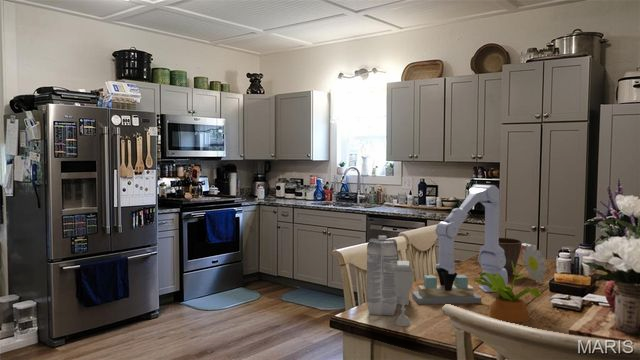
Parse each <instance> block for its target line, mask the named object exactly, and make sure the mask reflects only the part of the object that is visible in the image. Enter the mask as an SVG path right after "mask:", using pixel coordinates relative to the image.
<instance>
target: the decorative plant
mask: <svg viewBox="0 0 640 360" xmlns="http://www.w3.org/2000/svg"><path fill="white" fill-rule="evenodd" d="M530 245H531V246H530V249H529V247H528V245H526V251H525V250H524V249H523V250H522V251H523V254H524V258H523V260H524V261H525V264H526V267H525V266H522V267H521V268H520V269H519V270H518V271H517V272H516V267H514V264H513V262H512V261H511V264H512V268H513V271H514V272H513V274H514V277H513V280H512V283H511V285H509V286H508V287H506V284H505V281H504V279H503V278H502V277H501V276H500V275H499V274H498V273H497V274H493V275H492V274H490V273H486V272H483V271H482V272H480V273H481V274H480V275H479V277H478V278H477V277H475V278H474V280H473V282H475V283H478V285H479V284H480V285H481V286H482V285H487V286H488V287H489V288H491V292H492V293H496V294H497V296H496V298H495V300H494V301H493V303H492V304H491V305H490V308H489V309H490V310H489V312H488V315H489V317H490V318H493V319H494V318H496V319H495V320H497V319H500V320H499V321H501V320H504V321H503V322H506V321H508V323H524V322H527V321H530V318H531V317H530V311H529V308H528V307H527V305H526V304H525V303H524V299H523V298H521V297H522V296H524V295H527V294H528V293H530V294H531V295H533V296H534V297H535V298H536V299H538V298H539V297H541V296H543V293H542V292H539V291H538V288H536V287H534V288H525V289H523V290H522V291H520V292H519V293H517V294H514V292H513V289H514V283H515V280H520V279H523V278H524V277H526V274H521V275H519V276H517V275H518V274H520V272H521V271H522V270H524V268H525V270H526V271H528V274H529V278H532V279H534V280H535V282H536V283H538V282H539V283H540V284H543V281H542V280H544V279H545V278H546V275H545V274H546V272H547V271H548V269H547V267H545V266H546V264H545V262H546V257H544V256H543V254H542V251H541V250H538V249H537V248H536V250H535V252H534V246H535V245H534V244H533V243H531V244H530ZM484 275H486V276H487V277H488V279H489V281H490V282H491V283H490V282H489V281H487V280H486V279H485V278H484V277H483V276H484ZM494 276H496V277H494ZM496 278H497V279H496ZM482 280H484V282H483V281H482ZM485 281H486V282H487V283H486V282H485ZM489 284H490V285H489ZM491 292H490V293H491Z"/></svg>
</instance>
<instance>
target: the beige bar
mask: <svg viewBox="0 0 640 360" xmlns="http://www.w3.org/2000/svg"><path fill="white" fill-rule="evenodd" d="M417 287H418V290H417V291H418V293H419V294H420V295H421V297H436V296H474V292H475V288H474V287H473V286H472V285H470V284H468V288H457V287H455V286H454V284H453V286H452V290H451V291H446V290H445V285H440V284H437V288H426V287H425V286H424V284H423V285H418V286H417Z"/></svg>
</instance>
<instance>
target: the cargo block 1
mask: <svg viewBox="0 0 640 360" xmlns="http://www.w3.org/2000/svg"><path fill="white" fill-rule="evenodd" d="M423 285H424V286H425V287H426V288H437V285H438V277H437V276H436V275H433V274H431V275H428V274H427V275H423Z"/></svg>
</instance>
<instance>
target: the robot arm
mask: <svg viewBox="0 0 640 360" xmlns="http://www.w3.org/2000/svg"><path fill="white" fill-rule="evenodd" d="M477 203H480V204H482V206H483V207H484V244H483V245H482V246H481V247H480V248H479V253H478V255H477V256H478V257H477V258H478V259H477V261H478V263H479V264H480V267H481V268H482V273H483V272H486V273H490V274H492V275H493V274H497V273H498V274H499V275H500V276H501V277H502V278H503V279H504V281H505V284H506V287H509V286H508V285H509V284H508V282H509V281H508V279H509V278H508V277H509V276H508V274H507V271H506V269H505V268H503V267H504V266H505V264H506V258H505V255H504V250H503V249H502V248H501V247H500V246H499V245H498V243H499V238H500V237H499V235H500V234H499V232H500V231H499V230H500V229H499V228H500V226H499V225H500V221H499V220H500V189H499V188H498V187H497V186H496V185H494V184H477V183H476V184H472V186H471V187H470V188H469V190H468V195H467V196H466V198H465V199H464V201H463V202H462V203H461V204H460V206H459V207H456V208H452V210H451V212H450V213H449V215H447V216H446V218H444V220H443V221H439V222H438V223H437V225H436V227H435V229H434V231H435V233H436V237H437V241H438V263H437V264H436V263H435V270H436V273H437V275H438V280H439V285H445V290H446V291H451V290H452V286H453V285H454V280H455V278H456V276H457V275H458V273H457V272H455V237H457V235H458V233H459V232H458V231H459V229H460V227H461V225H462V224H463V223H464V222H465V220H466V219H467V214H468V213H469V212H470V210H471V209H472V208H474V207H475V206H476V204H477ZM483 277H484V278H485V279H486V280H487V281H489V279H488V277H487V276H486V275H484V276H483ZM494 277H496V276H494ZM496 279H497V278H496ZM482 281H483V282H484V280H482ZM485 282H486V281H485ZM489 282H490V281H489ZM486 283H487V282H486ZM490 283H491V282H490ZM489 285H490V284H489ZM478 288H480V289H481V290H482V291H483V292H486V293H491V288H489V287H488V286H487V285H482V284H481V285H478Z"/></svg>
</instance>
